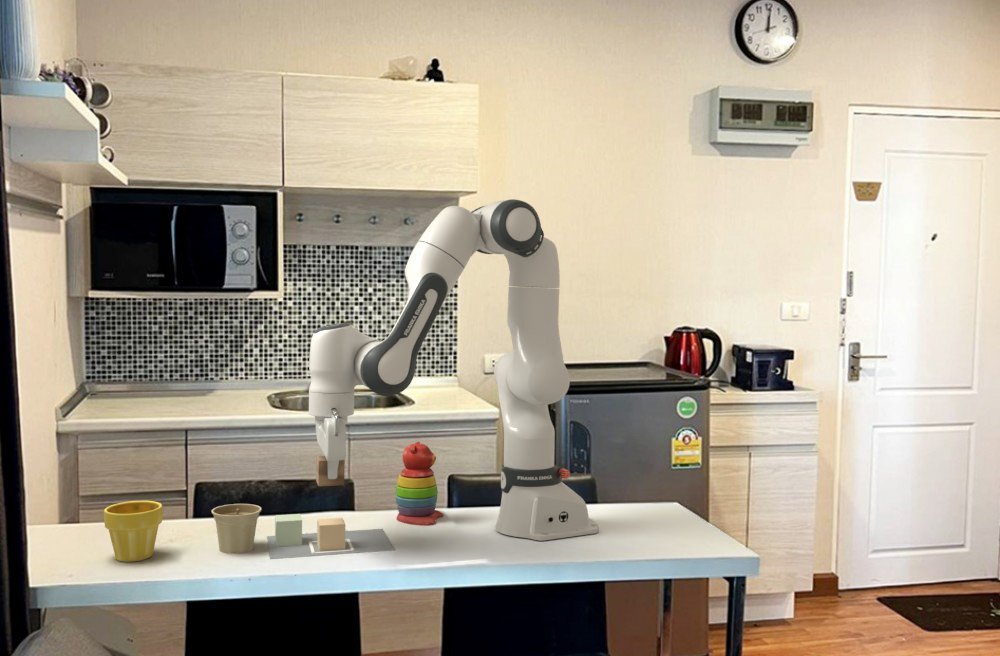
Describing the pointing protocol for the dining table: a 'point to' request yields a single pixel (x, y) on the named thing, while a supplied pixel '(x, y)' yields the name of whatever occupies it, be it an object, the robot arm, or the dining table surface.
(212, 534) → the dining table surface
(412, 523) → the stacking bear
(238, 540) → the flower pot
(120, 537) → the plant pot
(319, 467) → the walnut block
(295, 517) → the sage block
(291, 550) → the building board
